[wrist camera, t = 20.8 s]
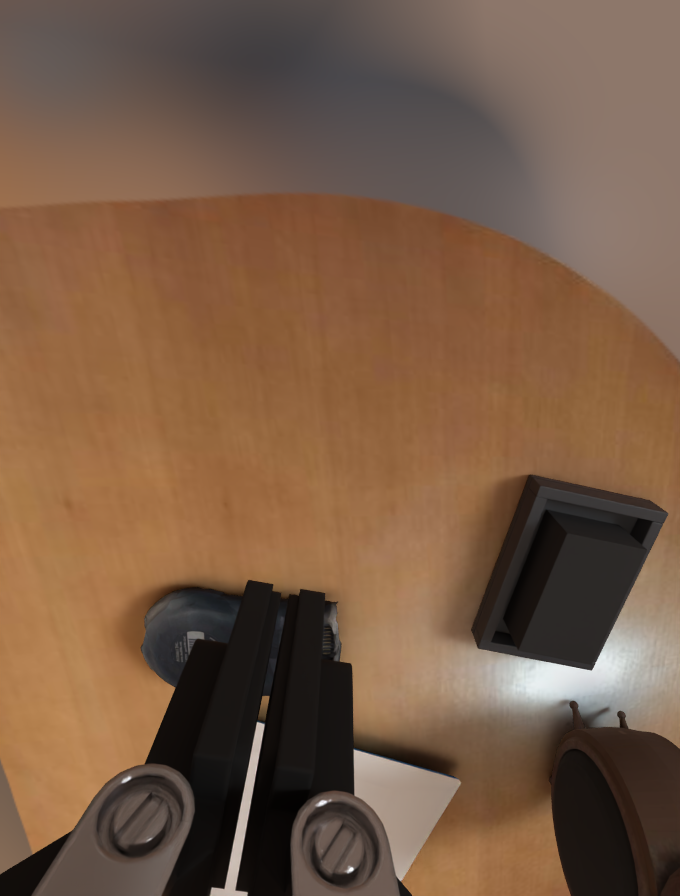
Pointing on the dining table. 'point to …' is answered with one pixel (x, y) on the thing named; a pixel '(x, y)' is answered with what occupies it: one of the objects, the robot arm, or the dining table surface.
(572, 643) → the black rectangular block
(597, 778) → the alarm clock
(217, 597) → the electronic device
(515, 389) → the dining table surface
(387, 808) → the plate
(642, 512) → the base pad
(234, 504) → the dining table surface
